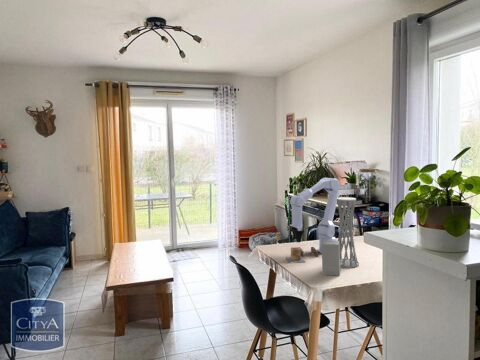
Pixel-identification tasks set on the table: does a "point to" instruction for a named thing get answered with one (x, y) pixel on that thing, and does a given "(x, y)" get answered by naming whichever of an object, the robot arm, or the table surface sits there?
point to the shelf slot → (311, 252)
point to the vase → (353, 259)
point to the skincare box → (331, 258)
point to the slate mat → (295, 260)
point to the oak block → (295, 253)
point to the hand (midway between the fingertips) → (297, 240)
